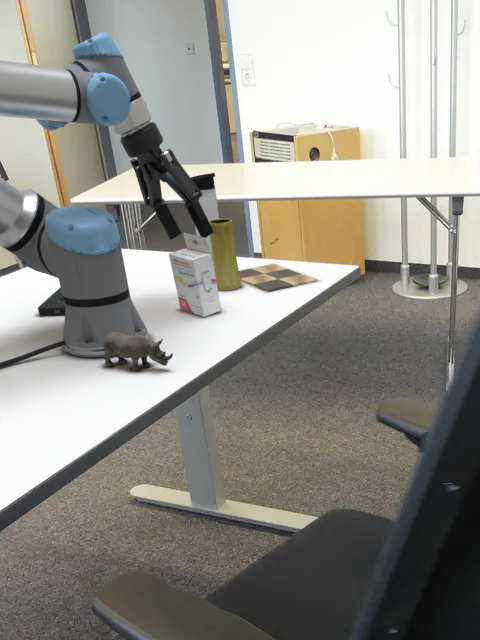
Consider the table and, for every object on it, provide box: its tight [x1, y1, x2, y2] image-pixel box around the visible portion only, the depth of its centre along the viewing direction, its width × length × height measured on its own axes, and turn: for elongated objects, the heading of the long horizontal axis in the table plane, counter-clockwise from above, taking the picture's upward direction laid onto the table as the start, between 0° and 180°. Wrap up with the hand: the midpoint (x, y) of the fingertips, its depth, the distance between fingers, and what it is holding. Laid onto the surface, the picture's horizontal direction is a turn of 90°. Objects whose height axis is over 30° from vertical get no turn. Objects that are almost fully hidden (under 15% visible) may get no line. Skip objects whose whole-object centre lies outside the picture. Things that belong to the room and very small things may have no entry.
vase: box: [209, 218, 242, 291], centre depth 170 cm, size 6×6×14 cm
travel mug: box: [190, 172, 220, 256], centre depth 192 cm, size 6×7×20 cm
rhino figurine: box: [103, 332, 174, 371], centre depth 131 cm, size 4×14×6 cm, turn 69°
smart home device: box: [37, 286, 66, 317], centre depth 167 cm, size 8×2×20 cm
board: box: [239, 263, 318, 293], centre depth 179 cm, size 13×20×1 cm, turn 36°
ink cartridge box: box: [168, 232, 222, 318], centre depth 155 cm, size 9×5×15 cm, turn 47°
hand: (191, 236), depth 156 cm, fingers open, 13 cm apart
